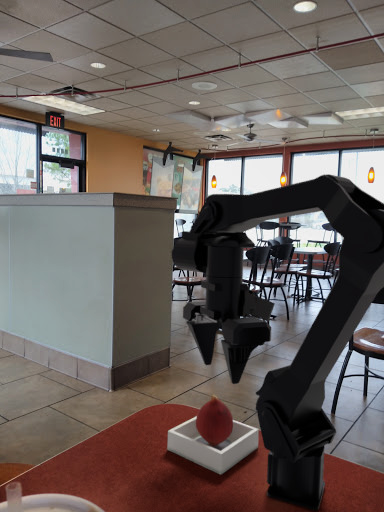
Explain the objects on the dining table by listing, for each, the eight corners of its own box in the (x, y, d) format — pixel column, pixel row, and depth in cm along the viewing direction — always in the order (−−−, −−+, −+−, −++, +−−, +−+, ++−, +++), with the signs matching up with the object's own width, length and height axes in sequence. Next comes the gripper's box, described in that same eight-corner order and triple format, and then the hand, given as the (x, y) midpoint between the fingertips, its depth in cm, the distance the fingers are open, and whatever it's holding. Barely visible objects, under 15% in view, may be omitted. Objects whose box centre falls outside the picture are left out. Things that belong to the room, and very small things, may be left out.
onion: (231, 438, 69) (233, 390, 69) (232, 456, 63) (234, 403, 63) (196, 436, 69) (198, 387, 69) (193, 453, 63) (195, 401, 63)
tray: (257, 447, 67) (258, 429, 67) (221, 474, 59) (221, 454, 59) (206, 427, 73) (207, 410, 73) (167, 449, 66) (167, 430, 65)
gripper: (304, 282, 61) (299, 388, 62) (238, 269, 78) (235, 352, 79) (237, 283, 56) (233, 398, 57) (183, 270, 73) (180, 358, 74)
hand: (220, 373), depth 67 cm, fingers open, 9 cm apart
